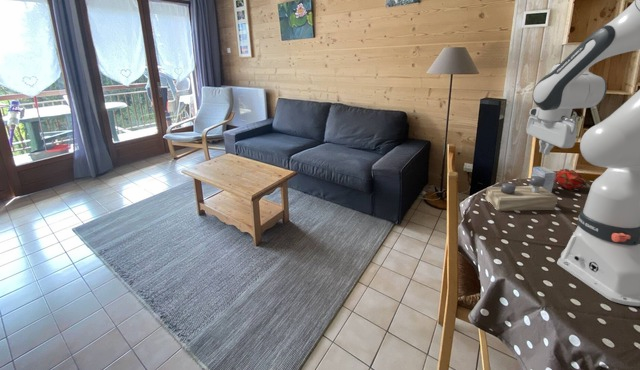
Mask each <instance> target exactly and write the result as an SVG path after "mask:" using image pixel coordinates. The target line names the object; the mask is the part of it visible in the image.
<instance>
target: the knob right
mask: <svg viewBox="0 0 640 370" xmlns="http://www.w3.org/2000/svg"><path fill="white" fill-rule="evenodd" d="M530 179H531V180H530ZM530 179H529V184H531V185H533V186H532V190H531V191H532V192H533V193H538V192H539V188H540V187H543V186H544V183H545V180H546V179H545V178H543V177H539V176H532V177H531V176H530Z"/></svg>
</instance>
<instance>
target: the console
mask: <svg viewBox="0 0 640 370" xmlns="http://www.w3.org/2000/svg"><path fill="white" fill-rule="evenodd" d="M515 186H516V185H515ZM501 187H502V186H488V187H486V193H485V197H484V199H485V200H486V202H488V203H489V202H490V203H491V204H492V205H493V206H492V205H491V204H490V203H489V204H490V205H491V206H492V207H493V208H495V209H496V210H497V212H499V211H501V212H502V211H542V210H545V211H546V210H547V211H549V210H550V211H551V210H553V211H554V210H555V209H556V207H557V206H556V205H557V201H558V199H559V196H557V195H556V194H554V193H553V192H549V191H548V190H546V189H544V188H543V187H540V188H539V192H538V193H533V192H532V191H531V190H532V186H529V185H526V186H525V185H524V186H523V185H522V186H519V185H518V186H516V188H515V192H514V194H507V193H503V192H501Z"/></svg>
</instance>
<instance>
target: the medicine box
mask: <svg viewBox="0 0 640 370" xmlns="http://www.w3.org/2000/svg"><path fill="white" fill-rule="evenodd" d="M556 173H557V172H555V171H553V170H552V169H550V168H547V167H545V166H533V167H532V171H531V175H530V179H529V181H530V180H531V177H532V176H539V177H543V178H545V179H546V180H545V183H544V186H543V188H544V189H546V190H548V191H549V192H551V193H553V192H552V191H553V188H554V184H555V181H554V180H555V176H556ZM528 186H533V185H531V184H530V183H529V184H528Z"/></svg>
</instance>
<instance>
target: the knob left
mask: <svg viewBox="0 0 640 370" xmlns="http://www.w3.org/2000/svg"><path fill="white" fill-rule="evenodd" d="M500 187H501V192H503V193H507V194H514V192H515V188H516V184H513V183H508V182H506V183H505V182H504V183H502V184H501V186H500Z"/></svg>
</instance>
